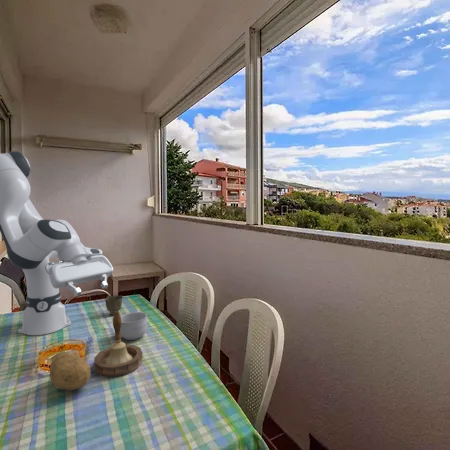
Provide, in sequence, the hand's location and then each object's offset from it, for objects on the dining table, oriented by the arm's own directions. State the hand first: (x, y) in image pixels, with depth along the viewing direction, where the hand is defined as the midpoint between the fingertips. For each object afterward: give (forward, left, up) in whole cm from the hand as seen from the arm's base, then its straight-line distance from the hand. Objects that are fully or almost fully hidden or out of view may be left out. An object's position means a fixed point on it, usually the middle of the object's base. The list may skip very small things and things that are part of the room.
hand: (92, 290), depth 98 cm
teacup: (-11, +14, -22) cm, 29 cm away
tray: (+9, +6, -22) cm, 25 cm away
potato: (+15, -7, -22) cm, 28 cm away
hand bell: (+10, +6, -21) cm, 24 cm away
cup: (-38, +9, -22) cm, 45 cm away
